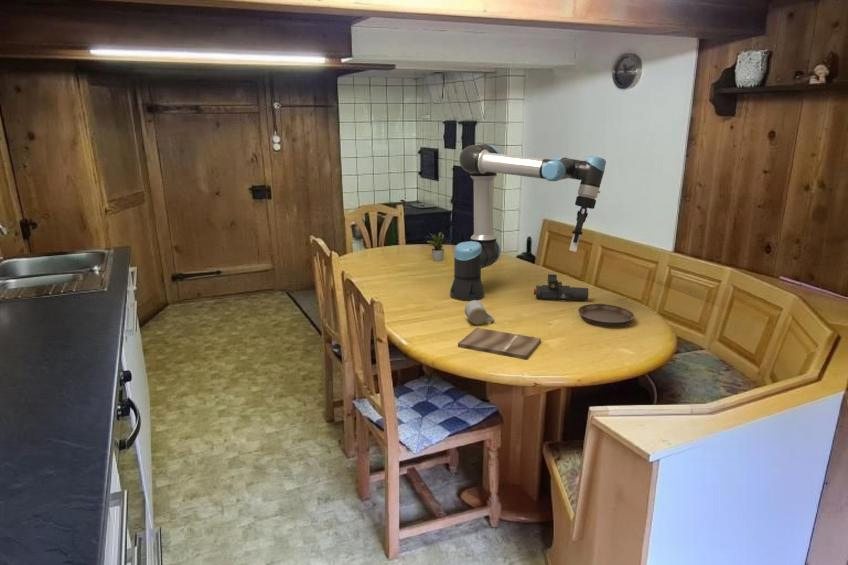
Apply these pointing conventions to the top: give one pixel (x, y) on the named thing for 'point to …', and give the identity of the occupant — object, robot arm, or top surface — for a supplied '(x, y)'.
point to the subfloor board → (500, 343)
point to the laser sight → (560, 291)
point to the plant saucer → (605, 315)
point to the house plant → (437, 247)
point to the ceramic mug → (477, 313)
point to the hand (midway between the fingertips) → (572, 250)
